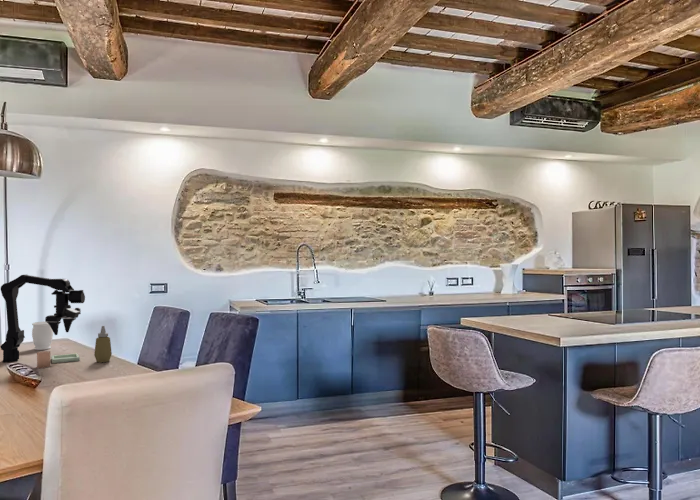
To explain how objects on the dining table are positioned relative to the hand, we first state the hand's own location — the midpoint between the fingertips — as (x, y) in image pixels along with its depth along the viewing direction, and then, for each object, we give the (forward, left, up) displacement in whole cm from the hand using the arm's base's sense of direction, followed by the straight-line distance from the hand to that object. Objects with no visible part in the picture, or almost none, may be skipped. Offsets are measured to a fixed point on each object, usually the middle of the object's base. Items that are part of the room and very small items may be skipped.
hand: (61, 333), depth 277 cm
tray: (+2, -2, -13) cm, 14 cm away
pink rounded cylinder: (-8, -14, -13) cm, 21 cm away
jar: (-7, +40, -14) cm, 43 cm away
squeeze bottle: (+18, -16, -14) cm, 28 cm away
